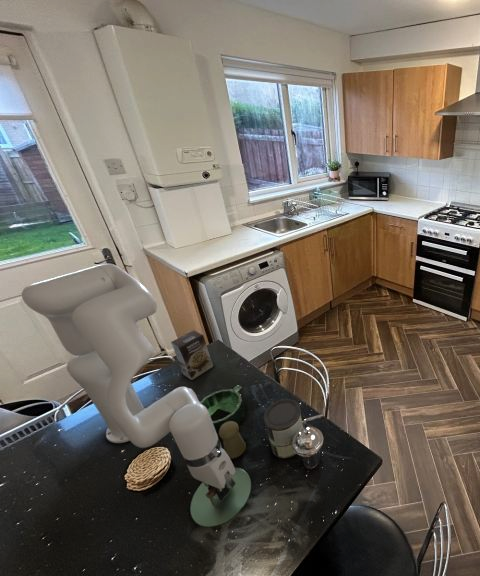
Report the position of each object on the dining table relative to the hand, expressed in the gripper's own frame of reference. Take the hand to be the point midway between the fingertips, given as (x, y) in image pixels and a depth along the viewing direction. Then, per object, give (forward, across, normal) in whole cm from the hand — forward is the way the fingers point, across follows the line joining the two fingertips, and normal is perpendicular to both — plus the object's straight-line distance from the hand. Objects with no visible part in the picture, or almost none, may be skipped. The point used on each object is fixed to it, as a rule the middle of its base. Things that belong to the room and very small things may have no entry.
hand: (220, 492), depth 82 cm
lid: (+2, 0, 0) cm, 2 cm away
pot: (+2, +18, -20) cm, 27 cm away
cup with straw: (+2, -18, -16) cm, 24 cm away
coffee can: (+2, -8, -19) cm, 21 cm away
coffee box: (+2, +44, -35) cm, 56 cm away
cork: (+2, +6, -12) cm, 14 cm away
